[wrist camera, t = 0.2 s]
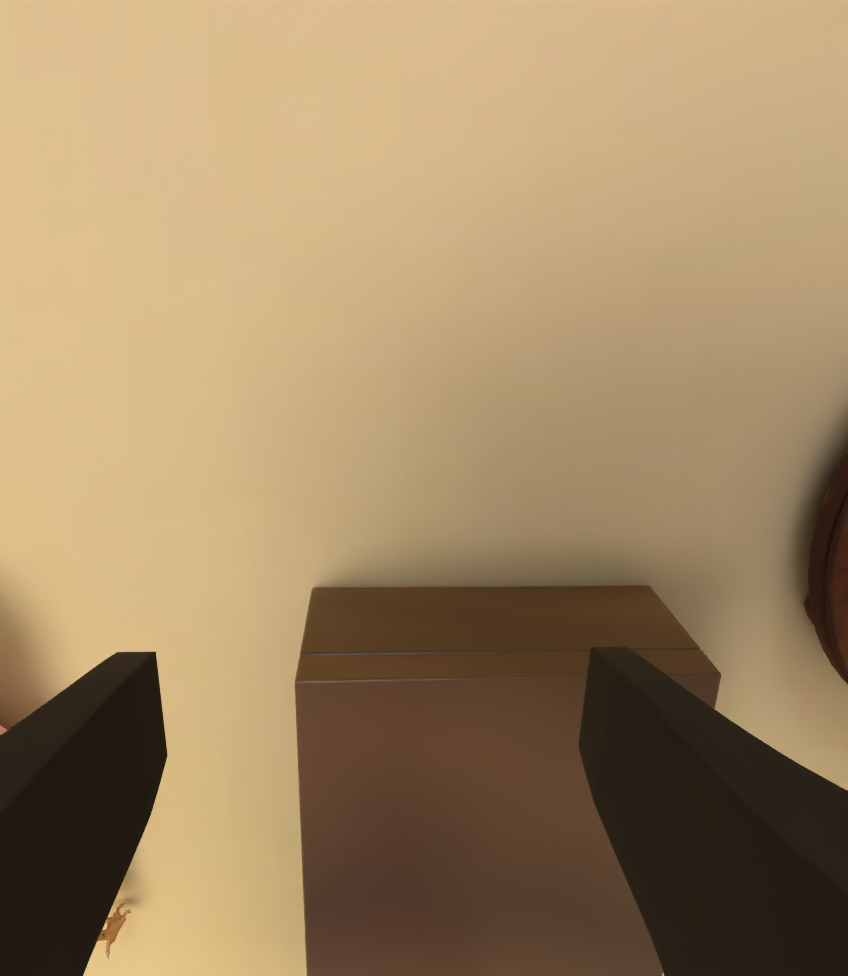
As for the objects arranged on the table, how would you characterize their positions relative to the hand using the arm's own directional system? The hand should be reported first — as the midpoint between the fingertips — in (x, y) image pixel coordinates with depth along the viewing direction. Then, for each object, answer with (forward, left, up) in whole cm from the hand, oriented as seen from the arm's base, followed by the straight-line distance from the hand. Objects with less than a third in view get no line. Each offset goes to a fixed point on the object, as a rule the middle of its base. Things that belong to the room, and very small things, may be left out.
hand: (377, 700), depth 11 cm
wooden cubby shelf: (-12, -4, -10) cm, 16 cm away
